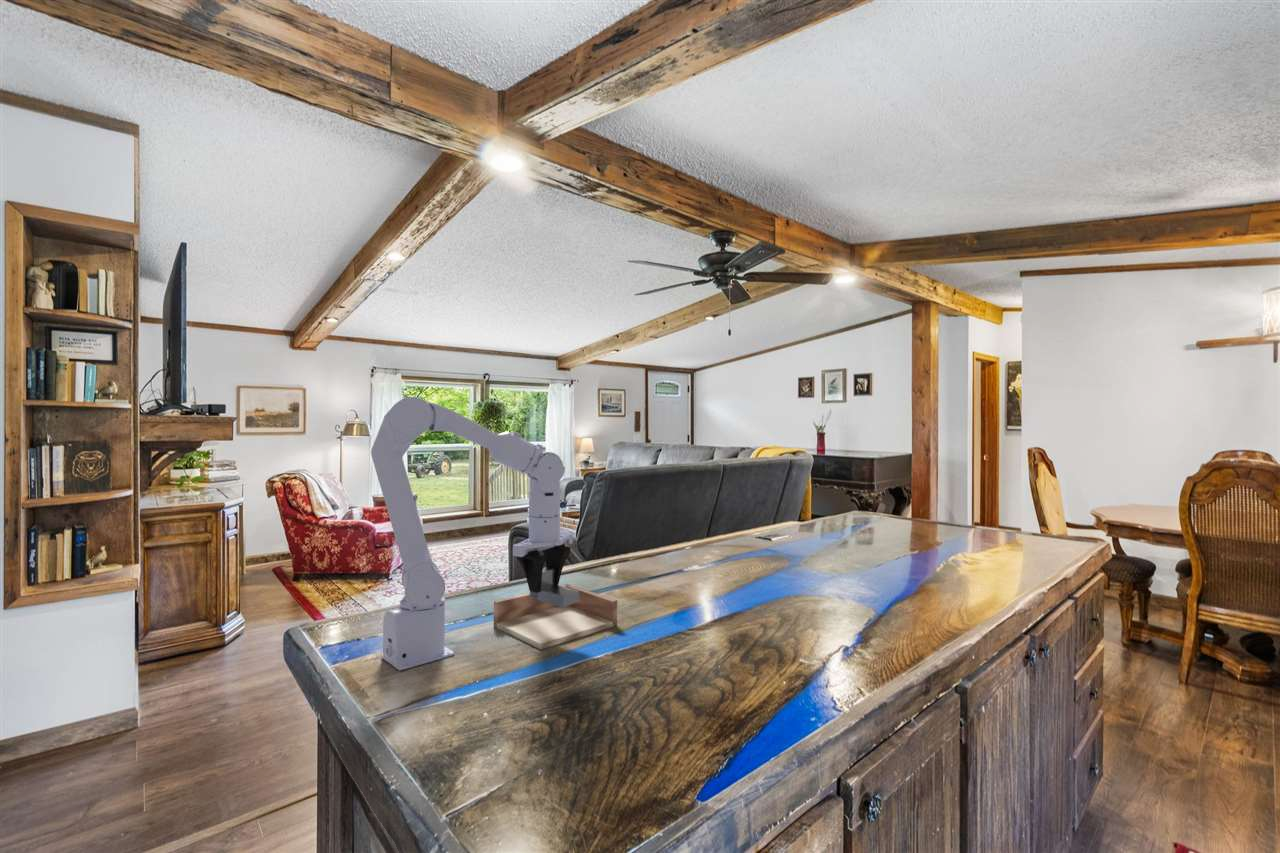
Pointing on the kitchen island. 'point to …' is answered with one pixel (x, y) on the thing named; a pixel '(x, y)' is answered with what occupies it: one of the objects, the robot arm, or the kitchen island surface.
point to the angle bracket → (554, 591)
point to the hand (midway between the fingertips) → (544, 588)
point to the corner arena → (554, 618)
